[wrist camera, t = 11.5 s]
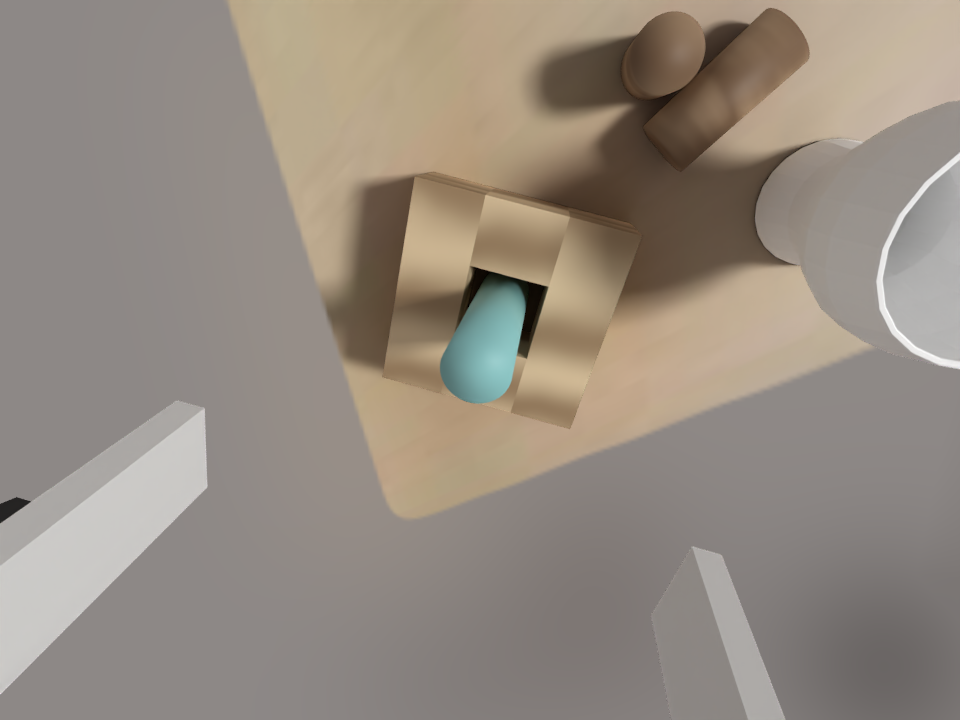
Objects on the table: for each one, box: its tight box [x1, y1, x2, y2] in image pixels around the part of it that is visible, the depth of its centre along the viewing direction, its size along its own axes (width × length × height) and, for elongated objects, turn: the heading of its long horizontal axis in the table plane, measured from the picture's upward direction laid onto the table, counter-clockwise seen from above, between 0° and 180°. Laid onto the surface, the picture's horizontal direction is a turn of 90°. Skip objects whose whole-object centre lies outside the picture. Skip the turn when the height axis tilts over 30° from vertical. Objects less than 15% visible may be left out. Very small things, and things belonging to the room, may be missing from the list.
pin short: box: [621, 12, 705, 100], centre depth 27 cm, size 4×4×5 cm
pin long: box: [440, 272, 529, 403], centre depth 30 cm, size 4×4×14 cm
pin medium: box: [643, 8, 809, 172], centre depth 28 cm, size 4×4×8 cm
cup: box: [755, 101, 960, 369], centre depth 24 cm, size 11×11×15 cm
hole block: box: [382, 172, 642, 429], centre depth 34 cm, size 14×14×5 cm
